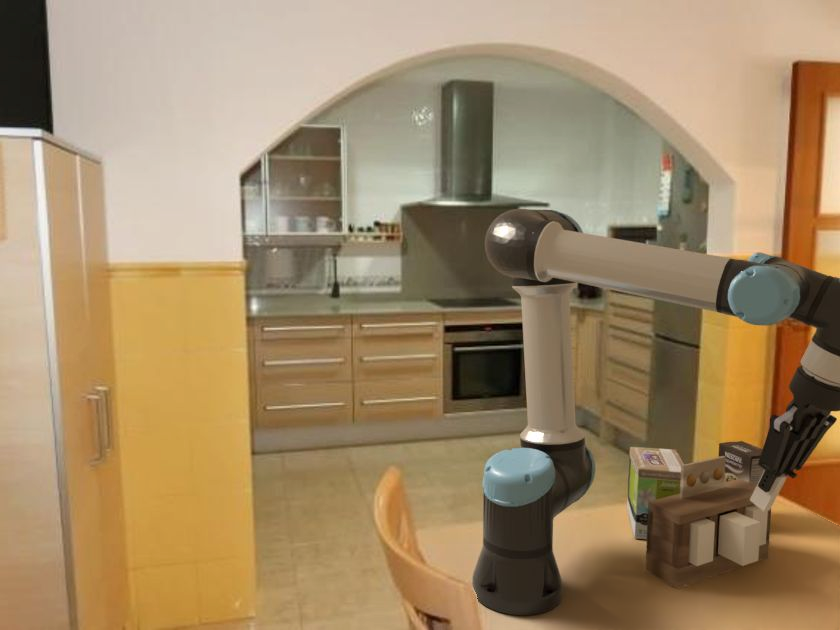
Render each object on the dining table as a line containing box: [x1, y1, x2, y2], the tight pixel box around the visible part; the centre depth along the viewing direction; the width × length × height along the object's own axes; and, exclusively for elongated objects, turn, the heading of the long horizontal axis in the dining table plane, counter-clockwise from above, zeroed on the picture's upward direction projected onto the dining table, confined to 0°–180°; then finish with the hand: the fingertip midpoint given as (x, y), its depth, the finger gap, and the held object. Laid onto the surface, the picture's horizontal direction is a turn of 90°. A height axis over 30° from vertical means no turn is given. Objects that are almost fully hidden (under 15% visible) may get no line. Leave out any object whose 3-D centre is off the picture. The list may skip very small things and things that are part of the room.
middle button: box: [718, 512, 760, 567], centre depth 117 cm, size 5×4×7 cm
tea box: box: [626, 446, 686, 541], centre depth 139 cm, size 15×10×15 cm, turn 169°
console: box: [645, 456, 772, 589], centre depth 122 cm, size 7×24×19 cm, turn 117°
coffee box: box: [718, 440, 764, 485], centre depth 140 cm, size 9×6×16 cm
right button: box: [729, 504, 768, 546], centre depth 123 cm, size 5×4×7 cm
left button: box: [688, 518, 715, 566], centre depth 117 cm, size 5×4×7 cm
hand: (759, 504), depth 105 cm, fingers closed
